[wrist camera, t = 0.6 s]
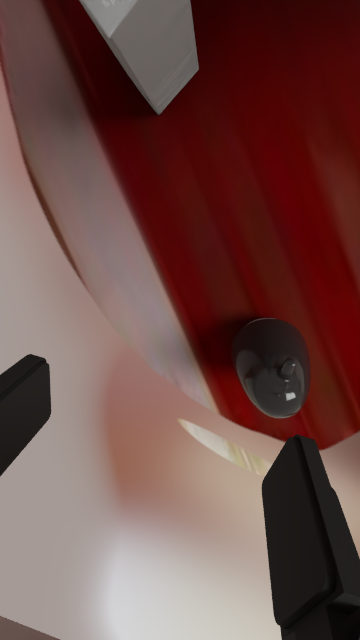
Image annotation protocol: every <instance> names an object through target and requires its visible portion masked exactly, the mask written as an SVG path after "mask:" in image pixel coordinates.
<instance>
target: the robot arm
mask: <svg viewBox="0 0 360 640" xmlns="http://www.w3.org/2000/svg"><path fill="white" fill-rule="evenodd" d="M50 396H51V395H50V371H49V364H48V363H46V359H45V358H42V357H38V356H35V355H32V354H30V355H27V356H25V357H24V358H23V359H21V360H20V361H18V362H17V363H16V364H15V365H13V366H12V367H10V368H9V369H8V370H7V371H5V372H4V373H2V374H1V375H0V476H1V475H2V474H3V472H4V471H5V470H6V469H7V468H8V467H9V465H10V464H11V463H12V462H13V461H14V460H15V458H16V457H17V456H18V455H19V454H20V452H21V451H22V450H23V449H24V448H25V447H26V445H27V444H28V443H29V442H30V441H31V440H32V438H33V437H34V436H35V435H36V434H37V432H38V431H39V430H40V429H41V428H42V426H43V425H44V424H45V423H46V422H47V421H48V419H49V417H50V415H51V397H50ZM262 498H263V508H264V517H265V529H266V537H267V549H268V559H269V569H270V580H271V590H272V600H273V610H274V617H275V621H276V623H277V624H278V625H280V627H281V636H282V640H360V559H359V556H358V553H357V550H356V547H355V545H354V542H353V539H352V536H351V533H350V530H349V528H348V525H347V522H346V519H345V516H344V514H343V511H342V508H341V505H340V502H339V499H338V497H337V495H336V492H335V491H334V489H333V488H332V487H331V485H330V483H329V479H328V477H327V474H326V471H325V468H324V465H323V462H322V459H321V456H320V453H319V450H318V447H317V444H316V442H315V441H314V440H313V439H310V438H307V437H304V436H300V435H295V436H294V437H293V438H292V437H289V438H288V440H287V441H286V443H285V445H284V446H283V448H282V450H281V451H280V453H279V455H278V456H277V458H276V460H275V461H274V463H273V465H272V466H271V468H270V470H269V471H268V473H267V475H266V476H265V478H264V480H263V483H262ZM0 640H59V639H57V638H55V637H52V636H49V635H47V634H45V633H42V632H40V631H37V630H34V629H32V628H29V627H27V626H24V625H22V624H19V623H17V622H14V621H12V620H9V619H7V618H4V617H1V616H0Z"/></svg>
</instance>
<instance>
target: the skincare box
mask: <svg viewBox="0 0 360 640" xmlns="http://www.w3.org/2000/svg"><path fill="white" fill-rule="evenodd" d="M79 1H80V2H81V4H82V5H83V7H84V9H85V10H86V12H87V13H88V15H89V16H90V18H91V19H92V21H93V22H94V24H95V25H96V27H97V29H98V30H99V32H100V33H101V35H102V36H103V38H104V39H105V41H106V42H107V44H108V45H109V47H110V49H111V50H112V52H113V53H114V55H115V56H116V58H117V59H118V61H119V62H120V64H121V65H122V67H123V68H124V70H125V71H126V73H127V74H128V75H129V77H130V78H131V80H132V81H133V83H134V84H135V85H136V87H137V88H138V89H139V91H140V92H141V94H142V95H143V96H144V98H145V99H146V100H147V101H148V103H149V104H150V105H151V107H152V108H153V109H154V110H155V112H156V113H157V114H158V115H159V114H161V112H162V111H163V110H164V109H165V108H166V107H167V105H168V104H169V103H170V102H171V101H172V100H173V98H174V97H175V96H176V95H177V94H178V93H179V92H180V90H181V89H182V88H183V87H184V86H185V85H186V84H187V82H188V81H189V80H190V79H191V78H192V77H193V76H194V74H195V73H196V72H197V71H198V69H199V65H198V58H197V50H196V42H195V34H194V26H193V19H192V11H191V4H190V0H79Z"/></svg>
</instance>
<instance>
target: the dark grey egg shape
mask: <svg viewBox="0 0 360 640" xmlns="http://www.w3.org/2000/svg"><path fill="white" fill-rule="evenodd" d="M231 358H232V363H233V366H234V370H235V373H236V376H237V378H238V380H239V383H240V385H241V387H242V388H243V390H244V392H245V394H246V395H247V397H248V398H249V399H250V401H251V402H252V403H253V404H254V405H255V406H256V407H257V408H258V409H259V410H260V411H262V412H263V413H265V414H266V415H268V416H271V417H274V418H287V417H290V416H293V415H294V414H296V413H297V412H298V411H299V410H300V409H301V408H302V407H303V405H304V403H305V401H306V399H307V397H308V393H309V389H310V381H311V363H310V356H309V351H308V347H307V344H306V341H305V339H304V337H303V336H302V334H301V333H300V331H299V330H298V329H297V328H296V327H294V326H293V325H291V324H290V323H288V322H285V321H283V320H279V319H274V318H261V319H257V320H254V321H252V322H250V323H248V324H247V325H245V326H244V327H243V328H242V329H241V330H240V331H239V332H238V333H237V334H236V336H235V337H234V339H233V342H232V346H231Z"/></svg>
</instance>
